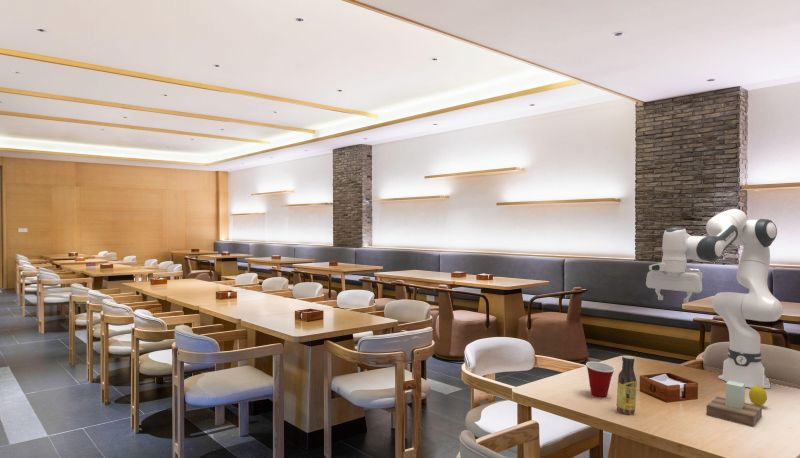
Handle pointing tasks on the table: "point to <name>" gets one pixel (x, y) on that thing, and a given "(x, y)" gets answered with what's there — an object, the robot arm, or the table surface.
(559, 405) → the table surface
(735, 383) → the sage block
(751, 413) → the walnut slab
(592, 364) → the plastic cup
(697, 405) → the table surface
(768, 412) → the table surface
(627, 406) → the sauce bottle
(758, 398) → the lemon
